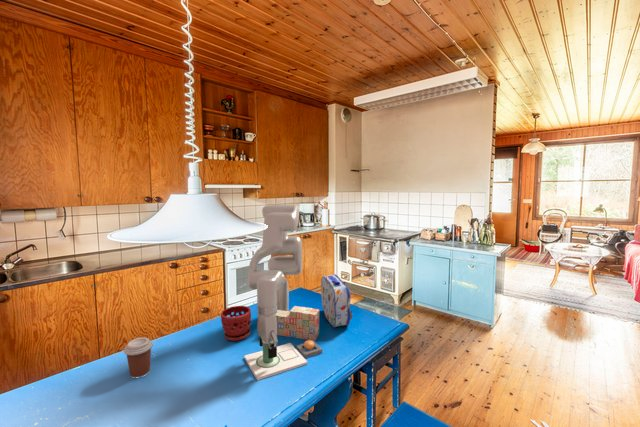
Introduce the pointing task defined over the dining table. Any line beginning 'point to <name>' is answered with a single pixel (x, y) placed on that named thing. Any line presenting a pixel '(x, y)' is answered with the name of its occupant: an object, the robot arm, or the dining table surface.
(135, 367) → the coffee cup
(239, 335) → the plant pot
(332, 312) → the lunch box
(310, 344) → the button
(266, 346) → the marker
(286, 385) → the dining table surface
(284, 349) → the activity sheet
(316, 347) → the button housing
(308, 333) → the stack of blocks
